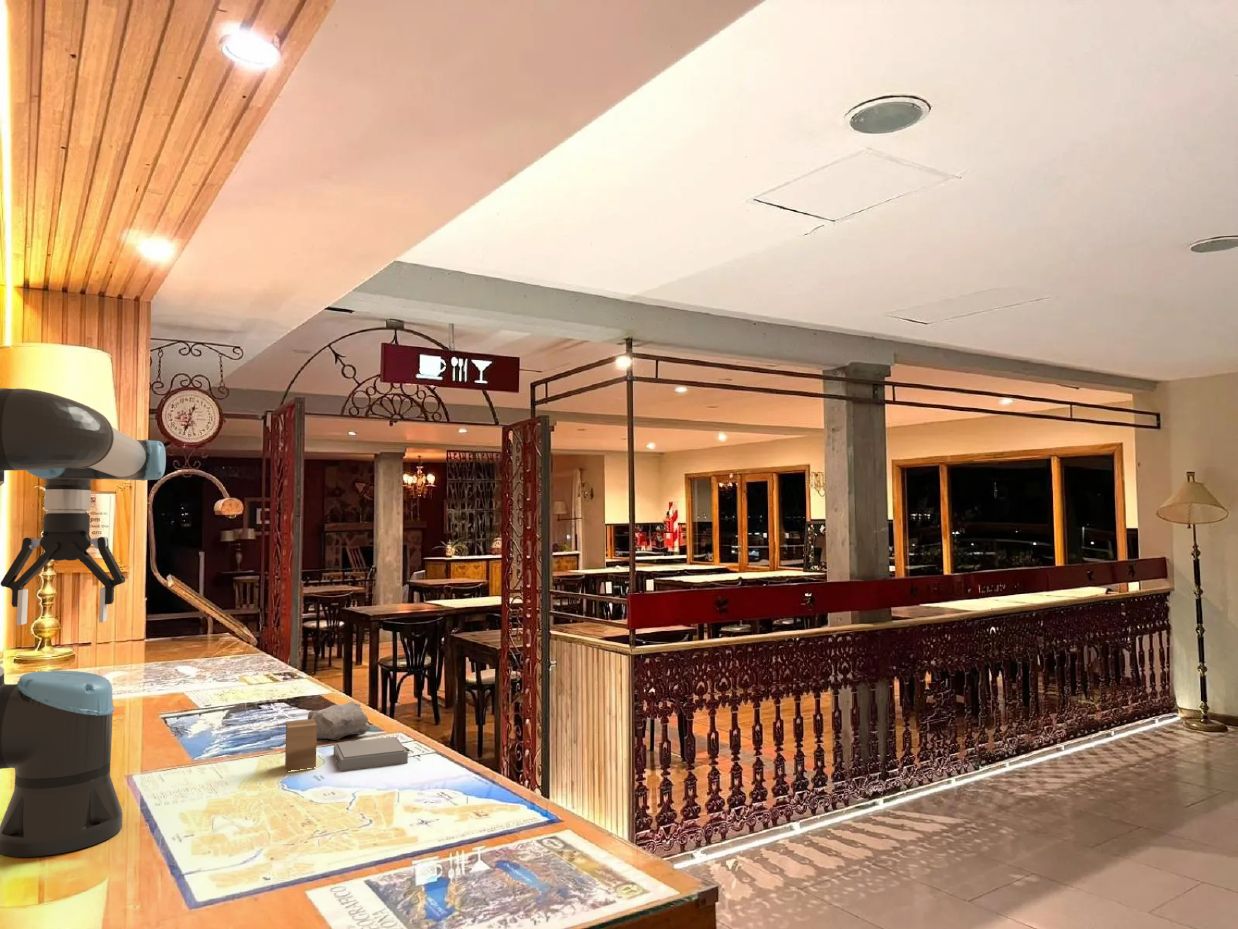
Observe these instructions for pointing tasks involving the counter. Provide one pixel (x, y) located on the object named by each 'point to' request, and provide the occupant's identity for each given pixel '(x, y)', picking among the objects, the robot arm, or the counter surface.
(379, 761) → the board
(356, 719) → the stone
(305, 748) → the block
